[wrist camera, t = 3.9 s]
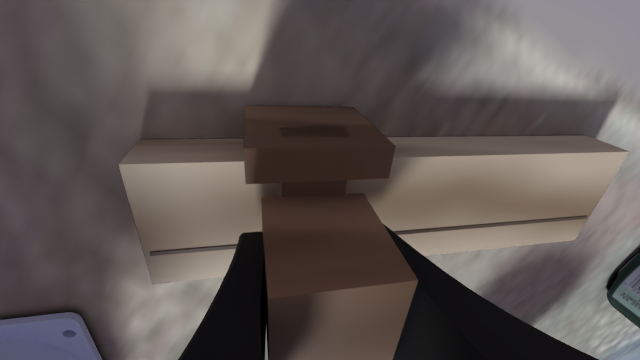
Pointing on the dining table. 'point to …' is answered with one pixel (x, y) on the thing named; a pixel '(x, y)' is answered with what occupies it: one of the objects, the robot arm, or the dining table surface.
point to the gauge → (325, 235)
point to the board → (371, 195)
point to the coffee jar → (627, 290)
